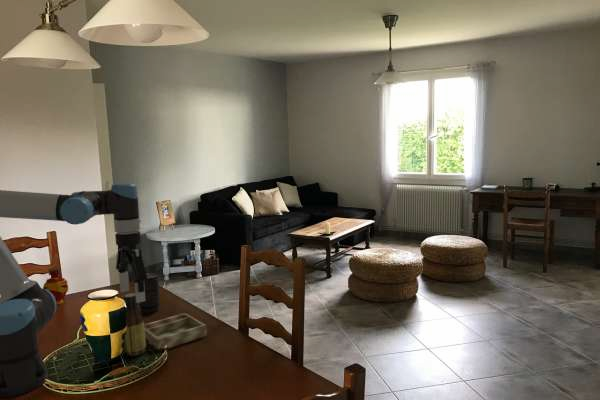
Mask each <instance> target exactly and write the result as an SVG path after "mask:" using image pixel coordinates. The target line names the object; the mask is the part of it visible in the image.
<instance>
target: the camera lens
mask: <svg viewBox="0 0 600 400" xmlns="http://www.w3.org/2000/svg"><path fill="white" fill-rule="evenodd" d="M146 276H147V280H145V281H144V286H145V300H146V301H143V302H139V303H138V306H139V310H141V311H140V313H141V314H144V315H145V314H147V315H149V314H154V313H156V312H158V311H159V307H160V294H159V293H160V291H159V290H160V289H159V287H160V284H159V280H160V279H159V275H158V274H157V273H153V272H146ZM140 278H141V277H140Z"/></svg>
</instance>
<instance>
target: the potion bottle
mask: <svg viewBox="0 0 600 400" xmlns="http://www.w3.org/2000/svg"><path fill="white" fill-rule="evenodd" d="M59 269H60V268H59V267H58V268H57V267H52V268H49V269H48V275H49V276H50V278H47V279H46V281H45V283H44V284H43V287H42V288H43V289H46V290H48V291H50V292H51V293H52V294H53V296H54V297H55V300H56V305H60V304H63V303H64V300H63V299H64V298H65V296H66V294H67V293H68V292H69V285H68V280H67V279H66V278H64V277H60V276H59V274H61V271H60V270H59Z"/></svg>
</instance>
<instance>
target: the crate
mask: <svg viewBox="0 0 600 400" xmlns="http://www.w3.org/2000/svg"><path fill="white" fill-rule="evenodd" d="M144 331H145V339H147V340H148V341H149V342H150V343H151V344H153V345H154V346H155V347H156V348H158V349H160V348H163V347H164V346H165V345H167V347H168V349H171V348H174V347H177V346H179V345H182V344H186V343H190V342H192V341H195V340H198V339H202V338H204V337H207V336H208V328H207V324H206V323H204V322H202V321H200V320H198V319H197V318H195V317H194V316H192V315H190V314H188V313H186V312H184V313H179V314H175V315H173V316H169V317H165V318H163V319H159V320H156V321H152V322H147V323H144ZM157 336H158V337H157ZM159 337H160V338H159Z"/></svg>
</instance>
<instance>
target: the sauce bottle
mask: <svg viewBox="0 0 600 400" xmlns="http://www.w3.org/2000/svg"><path fill="white" fill-rule="evenodd" d="M123 300H124V304H125V303H126V306H127V331H126V335H124V344H125V350H126V354H127V356H128V355H130V356H129V357H136V356H135V355H139V356H141V355H140V354H142V353H143V354H145V353H146V352H147V348H146V347H147V342H146V340H145V331H144V324H145V323H144V316H143V315H142V312H141V311H140V310H141V309H140V307H139V304H138V303H136V294H135V292H129V293H126V294H125V295H123ZM145 351H146V352H145ZM144 352H145V353H144ZM143 354H142V355H143Z"/></svg>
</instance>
